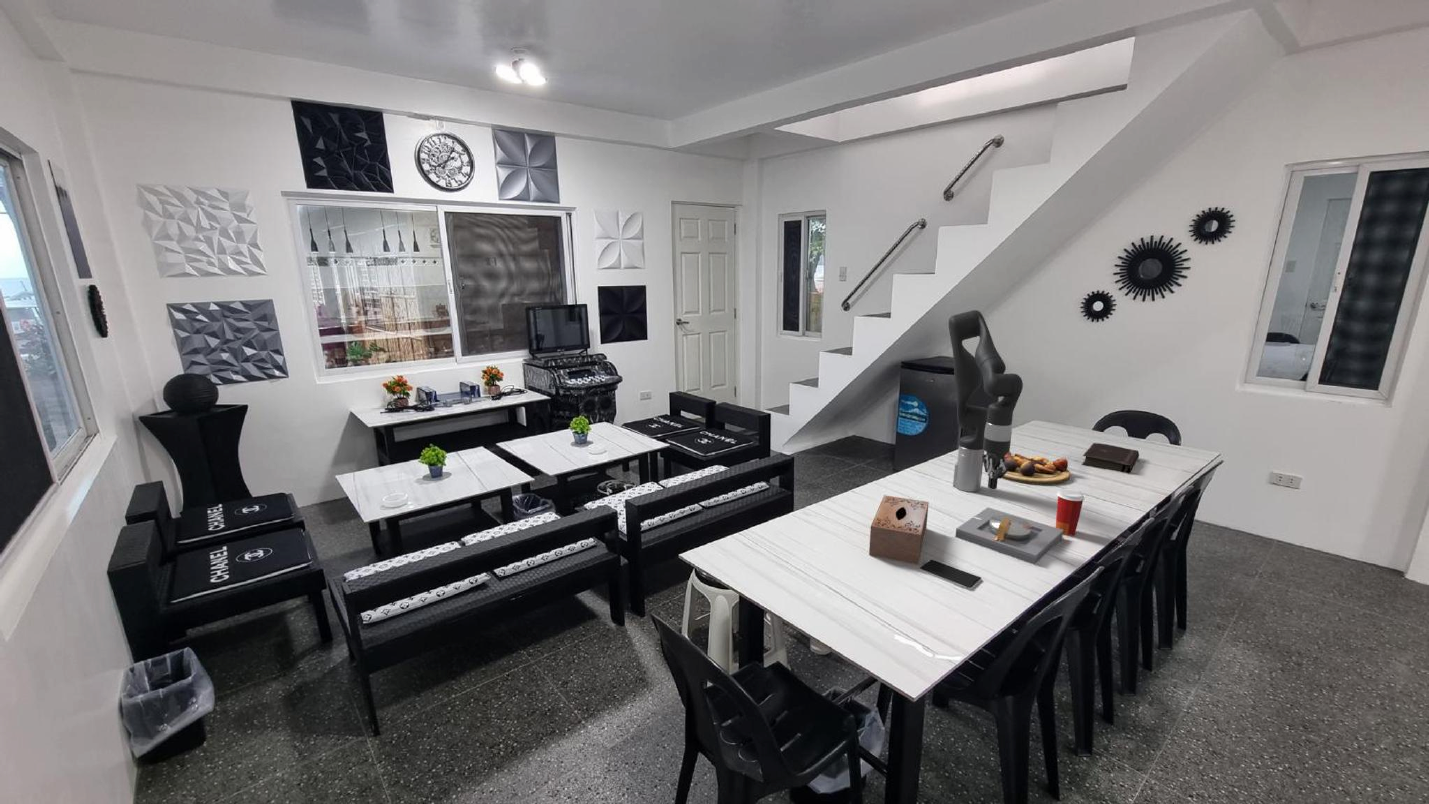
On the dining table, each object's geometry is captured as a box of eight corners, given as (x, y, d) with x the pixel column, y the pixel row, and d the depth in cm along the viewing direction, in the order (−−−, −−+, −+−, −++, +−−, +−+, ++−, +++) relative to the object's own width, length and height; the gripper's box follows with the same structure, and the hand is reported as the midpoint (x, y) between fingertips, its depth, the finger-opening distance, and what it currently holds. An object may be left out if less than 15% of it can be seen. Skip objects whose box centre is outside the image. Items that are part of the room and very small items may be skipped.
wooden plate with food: (1071, 467, 247) (1073, 449, 245) (1069, 491, 220) (1071, 471, 219) (990, 456, 264) (991, 439, 262) (979, 477, 237) (981, 458, 236)
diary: (1138, 460, 256) (1140, 450, 254) (1130, 476, 238) (1132, 464, 236) (1089, 451, 268) (1091, 441, 266) (1078, 465, 250) (1080, 454, 248)
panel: (955, 536, 185) (956, 527, 184) (986, 515, 201) (987, 506, 200) (1034, 564, 168) (1035, 554, 167) (1062, 538, 183) (1063, 529, 182)
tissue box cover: (918, 565, 168) (921, 534, 166) (869, 555, 174) (870, 525, 172) (926, 529, 191) (928, 502, 189) (882, 521, 197) (884, 495, 195)
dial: (994, 520, 192) (996, 503, 190) (1034, 530, 184) (1036, 513, 183) (979, 538, 179) (981, 520, 178) (1020, 550, 172) (1023, 532, 170)
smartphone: (931, 558, 171) (982, 577, 160) (931, 562, 171) (981, 581, 160) (918, 568, 165) (970, 588, 155) (918, 572, 165) (969, 592, 155)
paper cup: (1075, 528, 190) (1081, 489, 187) (1081, 538, 183) (1088, 498, 180) (1049, 525, 193) (1054, 486, 189) (1054, 535, 186) (1060, 495, 182)
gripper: (1020, 443, 170) (1014, 496, 174) (999, 430, 183) (994, 480, 187) (995, 443, 170) (989, 497, 174) (976, 430, 183) (971, 480, 187)
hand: (992, 488), depth 181 cm, fingers closed
